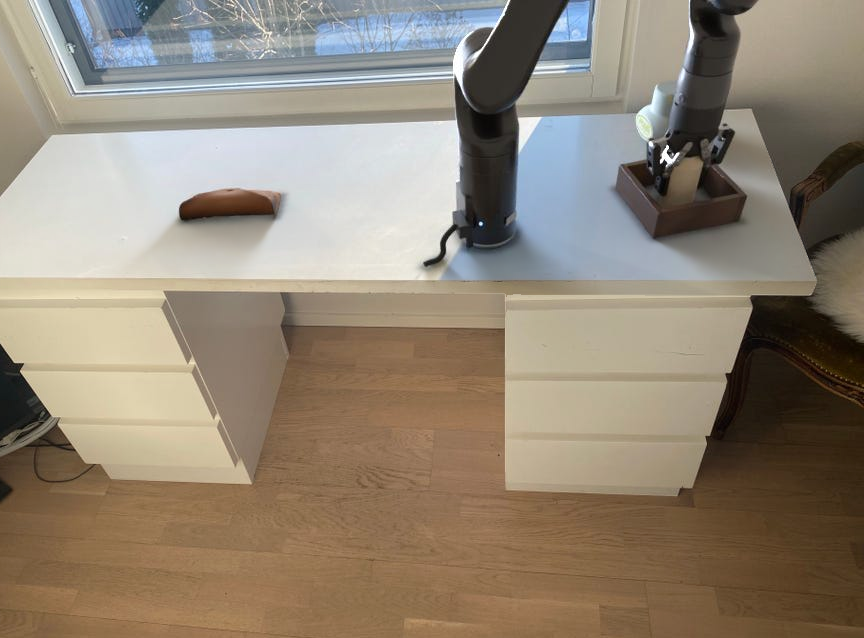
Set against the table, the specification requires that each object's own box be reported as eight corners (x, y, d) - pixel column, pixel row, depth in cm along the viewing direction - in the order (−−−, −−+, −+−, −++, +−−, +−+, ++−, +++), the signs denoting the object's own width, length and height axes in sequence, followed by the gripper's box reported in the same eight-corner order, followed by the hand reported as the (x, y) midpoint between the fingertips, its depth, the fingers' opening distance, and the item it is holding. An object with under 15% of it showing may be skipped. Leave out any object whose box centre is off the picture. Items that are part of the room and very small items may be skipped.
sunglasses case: (282, 190, 137) (273, 174, 130) (281, 224, 135) (272, 210, 129) (190, 196, 139) (177, 180, 132) (189, 230, 137) (175, 216, 131)
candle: (693, 214, 121) (707, 162, 113) (658, 213, 122) (670, 161, 115) (690, 195, 124) (703, 143, 117) (657, 194, 125) (668, 143, 118)
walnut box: (652, 238, 118) (658, 213, 114) (615, 189, 128) (619, 164, 124) (739, 220, 118) (747, 195, 115) (695, 173, 129) (701, 148, 125)
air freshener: (629, 127, 141) (637, 78, 134) (669, 120, 142) (679, 70, 134) (653, 156, 134) (664, 105, 126) (696, 147, 134) (708, 97, 127)
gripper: (732, 75, 112) (707, 170, 124) (644, 92, 111) (628, 186, 123) (759, 97, 107) (730, 194, 119) (667, 115, 106) (647, 210, 118)
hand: (678, 189), depth 121 cm, fingers closed on candle, 5 cm apart
